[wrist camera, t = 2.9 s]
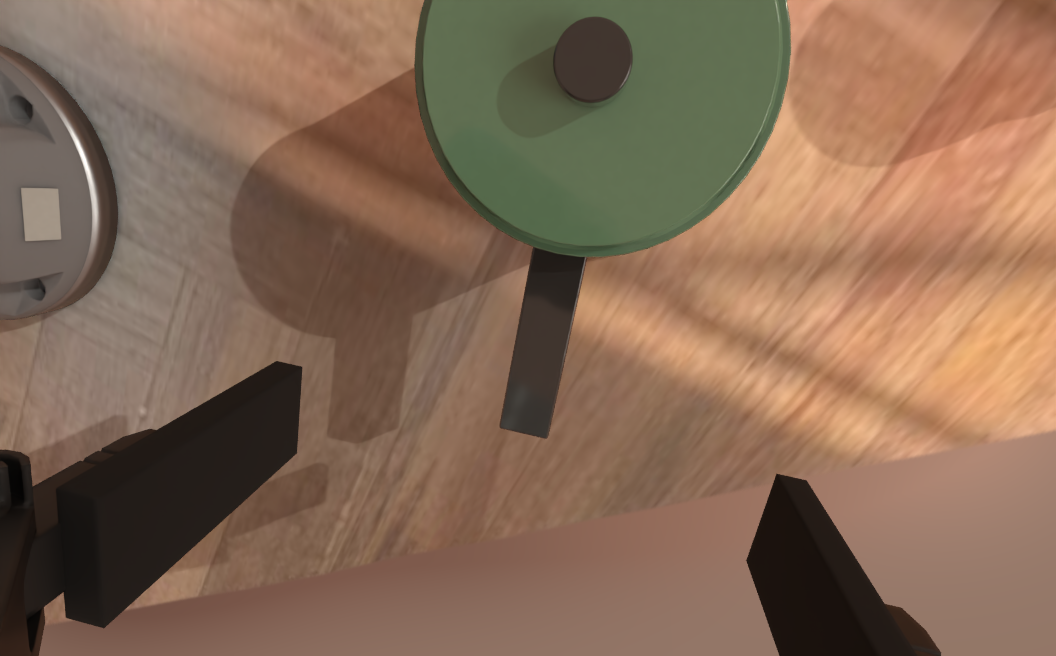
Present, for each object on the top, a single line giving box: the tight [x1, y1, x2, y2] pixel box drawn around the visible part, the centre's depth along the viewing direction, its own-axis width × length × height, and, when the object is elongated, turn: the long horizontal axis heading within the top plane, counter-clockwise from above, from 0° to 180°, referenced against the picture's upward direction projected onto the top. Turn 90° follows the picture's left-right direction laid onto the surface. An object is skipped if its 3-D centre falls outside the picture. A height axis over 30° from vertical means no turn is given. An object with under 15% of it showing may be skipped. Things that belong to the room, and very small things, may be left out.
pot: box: [415, 0, 791, 439], centre depth 22 cm, size 12×19×11 cm, turn 169°
